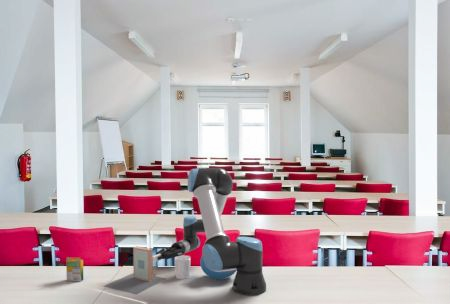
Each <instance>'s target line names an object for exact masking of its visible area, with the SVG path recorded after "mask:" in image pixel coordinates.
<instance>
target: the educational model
mask: <svg viewBox="0 0 450 304" xmlns="http://www.w3.org/2000/svg"><path fill="white" fill-rule="evenodd" d="M199 263H200V267H201V270H202V271H203V273H204V274H205V275H206V276H208V277H209V278H210V279H214V280H223V279H228V278H230V277H231V276H233V275H234V274H236V273H237V268H235V269H227V270H221V271H210V270H209V269H208V268H207V267H206V265H205V263H204V260H203V254H202V255H201V258H200V262H199Z"/></svg>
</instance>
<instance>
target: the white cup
mask: <svg viewBox="0 0 450 304" xmlns="http://www.w3.org/2000/svg"><path fill="white" fill-rule="evenodd" d="M191 258H192V257H191V256H190V255H185V254H184V255H182V256H177V257H174V269H175V271H174V272H175V278H176V279H178V280H187V279H189V278H190V277H191V262H192V261H191Z"/></svg>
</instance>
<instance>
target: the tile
mask: <svg viewBox="0 0 450 304" xmlns="http://www.w3.org/2000/svg"><path fill="white" fill-rule="evenodd" d="M132 252H133V253H132V255H133V256H132V257H133V263H132V264H133V273H134V278H136V279H141V280H145V281H149V282H150V281H152V280H153V276H154V275H153V269H154V268H153V256H154V255H153V248H148V247H142V246H133V249H132Z"/></svg>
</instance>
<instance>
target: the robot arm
mask: <svg viewBox="0 0 450 304" xmlns="http://www.w3.org/2000/svg"><path fill="white" fill-rule="evenodd" d="M233 185H234V183H233V178H232V176H231V174H230V173H229V171H227V170H226V169H224V168H222V167H208V168H207V167H205V168H199V167H197V168H192V169H190V170H189V173H188V177H187V191H188V192H189V193H192V195H193V196H194V198H196V199H197V202H198V207H199V210H200V211H199V212H200V215H201V219H197V216H194V215H188V216H184V217H183V222H182V223H183V224H182V225H183V239H181V240H179V241H176V242H173V243H172V244H171V246H169V247H167V248H165V247H162V248H161V249H159V250H158V251H156V252H155V255H153V263H155V262H159V261H161V260H169V259H173V258H175V257H177V256H182V255H185V254H186V253H187V254H188V253H189V252H192V251H194V250H196V249H197V248H199V247H200V246H201V240H200V238H199V236H198V233H199V234H200V233H205V237H206V240H205V241H204V245H203V246H202V250H201V254H202V255H203V260H204V263H205V265H206V267H207V268H208V269H209V270H210V271H221V270H227V269H235V268H237V270H236V272H235V276H234V280H233V283H232V290H233V291H234V292H235V293H238V294H239V295H245V296H256V295H261V294H263V293H265V292H266V290H267V283H266V280H265V277H264V274H263V252H264V251H263V243H262V241H261V240H260V239H258V238H255V237H250V236H238V237H237V238H235V239H236V240H235V241H231V239H230V236H229V235H227V234H226V232H225V229H224V225H223V222H222V218H221V217H222V213H223V212H224V208H225V205H226V204H227V203H226V202H227V200H228V196H229V195H230V194H231V193H232V191H233V187H234V186H233Z"/></svg>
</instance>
